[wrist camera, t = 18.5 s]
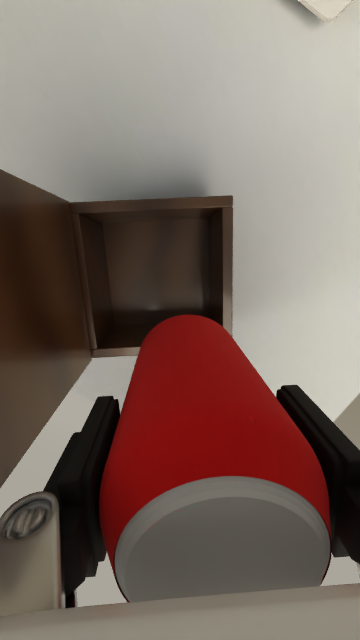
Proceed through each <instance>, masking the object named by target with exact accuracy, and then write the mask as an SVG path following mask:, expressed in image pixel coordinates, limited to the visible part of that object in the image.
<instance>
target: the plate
mask: <svg viewBox="0 0 360 640" xmlns="http://www.w3.org/2000/svg"><path fill="white" fill-rule="evenodd" d="M298 1H299V2H300V3H301V4H303V5H304V6H305V7H306V8H307V9H309V10H310V11H311V12H312V13H314V14H315V15H316V16H317V17H319V18H320V19H321V20H322V21H323V22H332V21H333V20H334V19H335V18H336V17H337V16H338V15H339V14H340V13H341V12H342V11H343V10H345V9H346V8H347V7H348V6H349V5H350V4H351V3H352V2H353V1H354V0H298Z"/></svg>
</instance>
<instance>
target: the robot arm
mask: <svg viewBox="0 0 360 640" xmlns="http://www.w3.org/2000/svg"><path fill="white" fill-rule="evenodd" d="M276 398H277V400H278V401H279V402H280V404H281V405H282V407H283V408H284V409H285V411H286V412H287V413H288V415H289V416H290V418H291V419H292V420H293V422H294V423H295V424H296V426H297V427H298V428H299V430H300V431H301V433H302V434H303V435H304V437H305V438H306V440H307V441H308V443H309V444H310V446H311V447H312V449H313V451H314V453H315V455H316V457H317V459H318V461H319V463H320V465H321V468H322V471H323V474H324V477H325V480H326V484H327V490H328V495H329V508H330V527H331V547H332V554H333V556H334V557H346V556H350V557H351V559H352V560H354V561H355V562H357V567H358V572H359V576H360V450H359V449H358V448H357V447H356V446H355V445H354V444H353V443H352V442H351V441H350V440H349V439H348V438H347V437H346V436H345V435H344V434H343V432H342V431H341V430H340V429H339V428H338V427H337V426H336V425H335V424H334V423H333V422H332V421H331V420H330V419H329V418H328V417H327V416H326V415H325V414H324V412H323V411H322V410H321V409H320V408H319V407H318V406H317V405H316V404H315V403H314V402H313V401H312V400H311V399H310V398H309V397H308V396H307V395H306V394H305V393H304V391H303V390H302V389H301V388H300V387H299V386H298V385H284V386H282V387H281V389H278V390H277V395H276ZM119 418H120V409H119V402H118V399H114V398H113V396H102V397H98V398H97V400H96V402H95V404H94V406H93V408H92V410H91V412H90V414H89V416H88V418H87V420H86V422H85V424H84V426H83V428H82V431H81V432H76V433H74V434H73V435H72V437H71V438H70V440H69V442H68V444H67V446H66V448H65V450H64V452H63V454H62V456H61V458H60V459H59V461H58V463H57V465H56V467H55V469H54V471H53V473H52V475H51V477H50V479H49V481H48V482H47V484H46V486H45V488H44V490H43V492H36V493H32V494H29V495H27V496H25V497H23V498H21V499H19V500H18V501H16V502H15V503H14V504H12V505H11V506H10V507H9V508H8V509H7V510H6V511H5V512H4V513H3V515H2V516H1V518H0V640H360V583H358V584H344V585H333V586H318V587H305V588H293V589H280V590H268V591H256V592H244V593H232V594H220V595H208V596H196V597H184V598H173V599H162V600H151V601H139V602H128V603H117V604H107V605H95V606H84V607H77V593H76V588H77V587H78V586H79V585H80V584H81V583H82V582H84V581H85V577H93V576H95V574H96V571H97V566H98V562H100V561H104V559H105V556H106V552H107V550H106V546H105V543H104V540H103V536H102V531H101V526H100V518H99V493H100V485H101V480H102V475H103V472H104V468H105V465H106V461H107V458H108V455H109V451H110V448H111V445H112V441H113V438H114V435H115V431H116V428H117V424H118V421H119Z"/></svg>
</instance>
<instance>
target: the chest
mask: <svg viewBox="0 0 360 640" xmlns="http://www.w3.org/2000/svg"><path fill="white" fill-rule="evenodd" d="M232 206H233V196H209V197H185V198H162V199H139V200H116V201H93V202H69V209H70V215H71V222H72V229H73V236H74V243H75V250H76V257H77V263H78V270H79V277H80V284H81V291H82V298H83V304H84V311H85V318H86V325H87V332H88V339H89V345H90V352H91V358H99V357H116V356H132V355H138V354H139V350H140V347H141V345H142V343H143V341H144V339H145V337H146V336H147V335H148V333H149V332H150V331H151V330H152V329H153V328H154V327H155V326H157V325H158V324H159V323H161V322H162V321H164V320H166V319H168V318H171V317H174V316H178V315H199V316H203V317H206V318H209V319H211V320H213V321H215V322H217V323H218V324H220V325H221V326H222V327H223V328H224V329H226V330H227V332H228V333H229V334H230V335H231V337H232V256H233V207H232Z"/></svg>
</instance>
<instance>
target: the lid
mask: <svg viewBox="0 0 360 640" xmlns="http://www.w3.org/2000/svg"><path fill="white" fill-rule="evenodd" d="M91 360H92V359H91V352H90V345H89V339H88V332H87V325H86V318H85V311H84V304H83V298H82V291H81V284H80V277H79V270H78V263H77V257H76V250H75V243H74V236H73V229H72V222H71V215H70V209H69V202H68V201H66V200H64V199H62V198H60V197H58V196H56V195H54V194H52V193H49V192H47V191H45V190H43V189H41V188H39V187H37V186H35V185H33V184H30V183H28V182H26V181H24V180H22V179H20V178H18V177H16V176H14V175H12V174H9V173H7V172H5V171H3V170H1V169H0V488H1V486H2V485H3V483H4V482H5V481H6V479H7V478H8V477H9V475H10V474H11V472H12V471H13V469H14V468H15V467H16V465H17V464H18V463H19V461H20V460H21V458H22V457H23V456H24V454H25V453H26V451H27V450H28V449H29V447H30V446H31V444H32V443H33V441H34V440H35V439H36V437H37V436H38V434H39V433H40V432H41V430H42V429H43V427H44V426H45V425H46V423H47V422H48V420H49V419H50V418H51V416H52V415H53V413H54V412H55V411H56V409H57V408H58V406H59V405H60V404H61V402H62V401H63V399H64V398H65V396H66V395H67V394H68V392H69V391H70V390H71V388H72V387H73V385H74V384H75V382H76V381H77V380H78V378H79V377H80V375H81V374H82V373H83V371H84V370H85V368H86V367H87V366H88V364H89V363H90V361H91Z"/></svg>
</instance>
